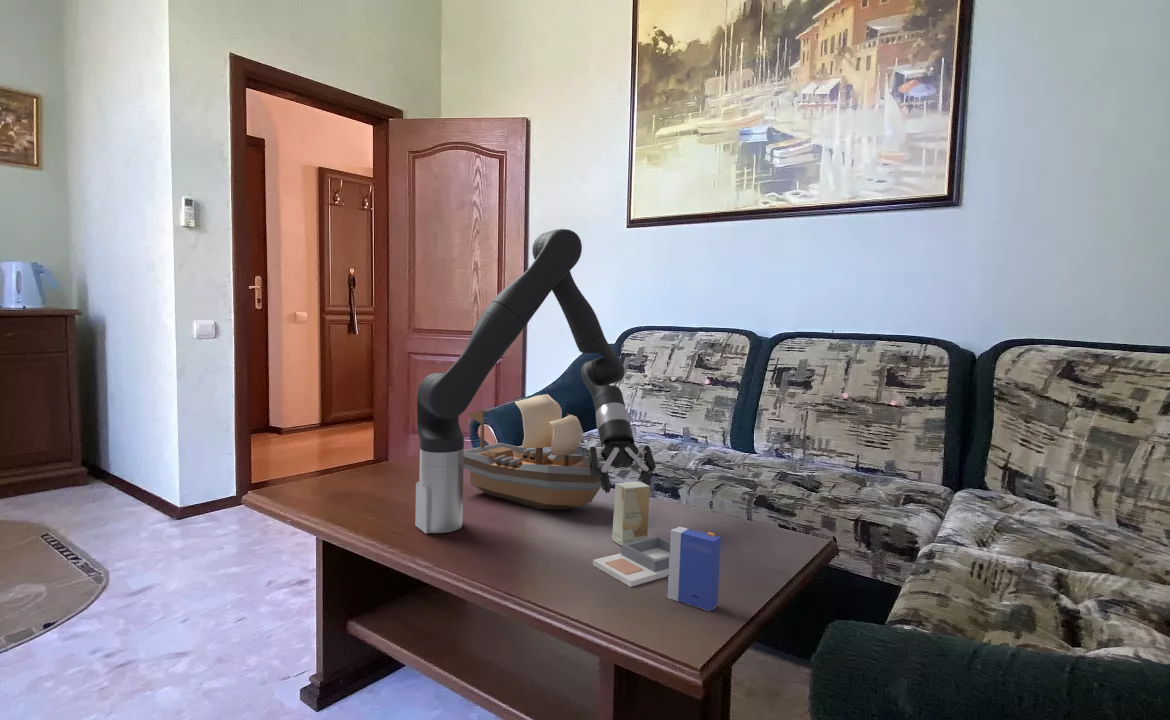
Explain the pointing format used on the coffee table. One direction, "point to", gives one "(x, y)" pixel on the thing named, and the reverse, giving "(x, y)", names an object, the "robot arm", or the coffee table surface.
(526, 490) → the sailing ship
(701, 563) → the walkman
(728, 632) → the coffee table surface
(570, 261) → the robot arm
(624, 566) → the plate
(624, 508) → the skincare box
